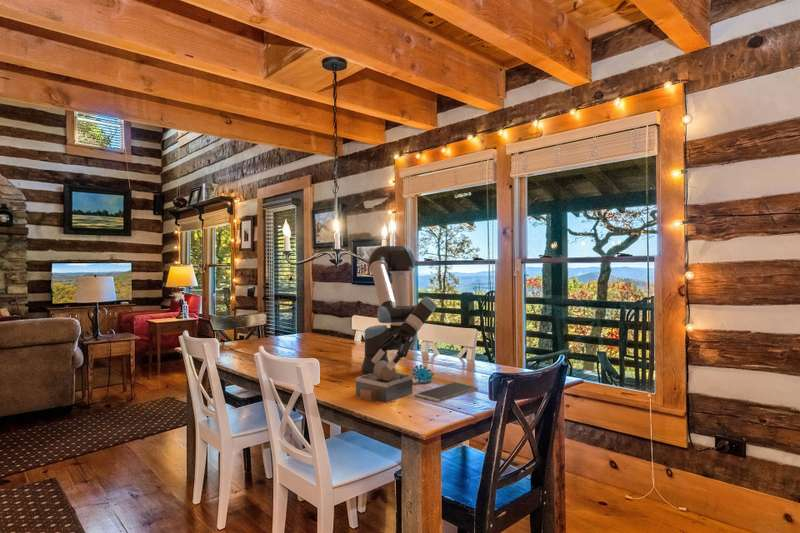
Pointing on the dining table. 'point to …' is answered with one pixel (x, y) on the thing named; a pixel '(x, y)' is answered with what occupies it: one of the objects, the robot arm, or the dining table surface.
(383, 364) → the ceramic mug
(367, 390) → the grey hollow block
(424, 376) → the gear
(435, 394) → the grey flat slab
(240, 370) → the dining table surface
